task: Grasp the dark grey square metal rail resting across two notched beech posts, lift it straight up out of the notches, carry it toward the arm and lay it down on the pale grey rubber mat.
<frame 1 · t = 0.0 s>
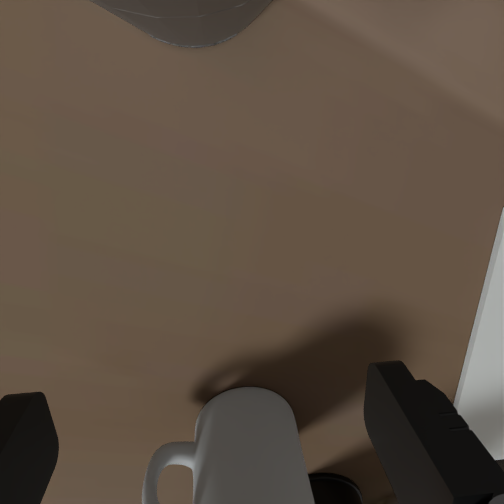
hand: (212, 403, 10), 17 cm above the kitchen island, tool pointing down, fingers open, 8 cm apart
mug: (225, 419, 34), on the kitchen island
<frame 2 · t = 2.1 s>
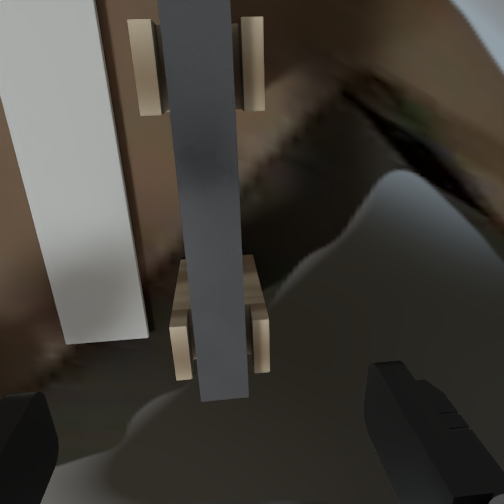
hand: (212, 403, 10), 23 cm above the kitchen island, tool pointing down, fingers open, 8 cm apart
post 2: (203, 73, 28), on the kitchen island
rail: (212, 218, 23), point 8 cm above the kitchen island, touching post 2, post 1
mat: (79, 193, 30), on the kitchen island
post 1: (218, 278, 34), on the kitchen island
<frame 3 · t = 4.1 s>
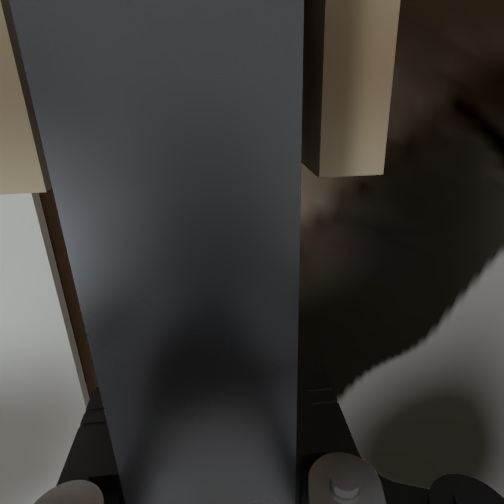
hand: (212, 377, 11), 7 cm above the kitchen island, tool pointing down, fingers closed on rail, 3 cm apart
post 2: (196, 65, 14), on the kitchen island
rail: (213, 400, 10), point 8 cm above the kitchen island, touching gripper, post 2, post 1
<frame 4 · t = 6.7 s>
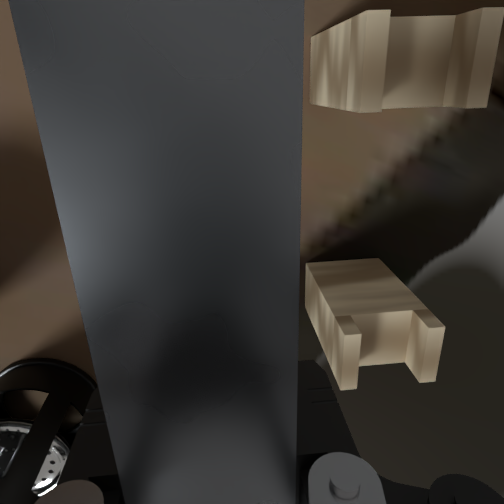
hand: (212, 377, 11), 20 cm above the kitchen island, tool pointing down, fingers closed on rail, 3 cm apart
post 2: (354, 69, 26), on the kitchen island
rail: (213, 402, 10), point 21 cm above the kitchen island, touching gripper
post 1: (341, 282, 33), on the kitchen island
french press: (45, 403, 35), on the kitchen island
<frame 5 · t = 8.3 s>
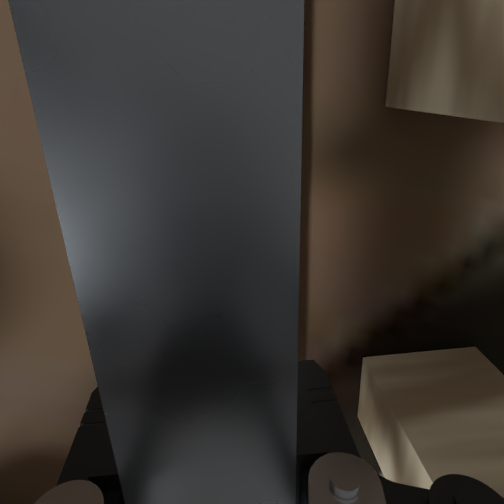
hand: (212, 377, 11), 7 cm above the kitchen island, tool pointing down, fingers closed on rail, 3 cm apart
post 2: (468, 46, 15), on the kitchen island
rail: (213, 402, 10), point 8 cm above the kitchen island, touching gripper
post 1: (414, 382, 21), on the kitchen island
when the fingers open (2 cm above the kitchen island, at t = 9.6 s): rail drops 2 cm, resting on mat.
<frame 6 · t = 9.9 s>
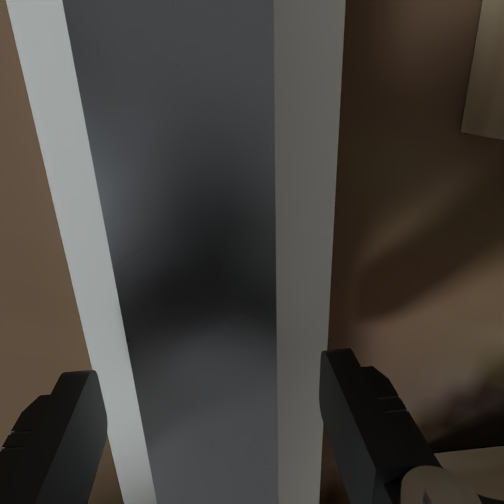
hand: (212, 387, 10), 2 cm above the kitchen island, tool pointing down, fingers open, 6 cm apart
rail: (212, 354, 12), point 1 cm above the kitchen island, touching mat
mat: (212, 341, 12), on the kitchen island
post 1: (470, 483, 16), on the kitchen island
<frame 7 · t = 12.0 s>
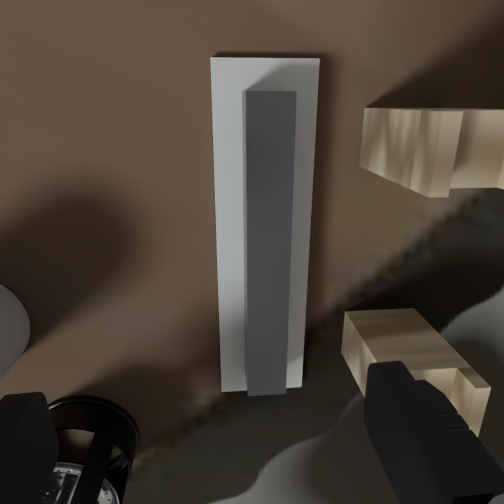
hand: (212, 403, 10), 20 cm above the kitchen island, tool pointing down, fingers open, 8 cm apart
post 2: (402, 137, 28), on the kitchen island
rail: (263, 249, 30), point 1 cm above the kitchen island, touching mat
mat: (262, 246, 30), on the kitchen island
post 1: (377, 330, 34), on the kitchen island
french press: (83, 439, 36), on the kitchen island
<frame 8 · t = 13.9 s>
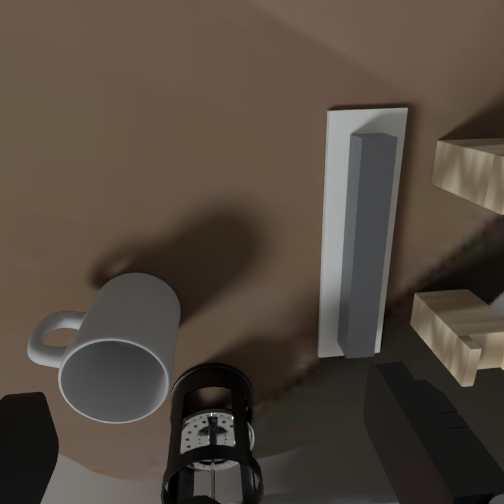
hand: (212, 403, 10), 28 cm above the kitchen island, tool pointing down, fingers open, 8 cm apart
post 2: (464, 160, 38), on the kitchen island
rail: (357, 248, 39), point 1 cm above the kitchen island, touching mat
mug: (121, 305, 40), on the kitchen island
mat: (355, 245, 40), on the kitchen island
post 1: (438, 306, 44), on the kitchen island
french press: (209, 397, 46), on the kitchen island
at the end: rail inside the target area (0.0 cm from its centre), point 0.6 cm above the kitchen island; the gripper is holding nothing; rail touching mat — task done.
